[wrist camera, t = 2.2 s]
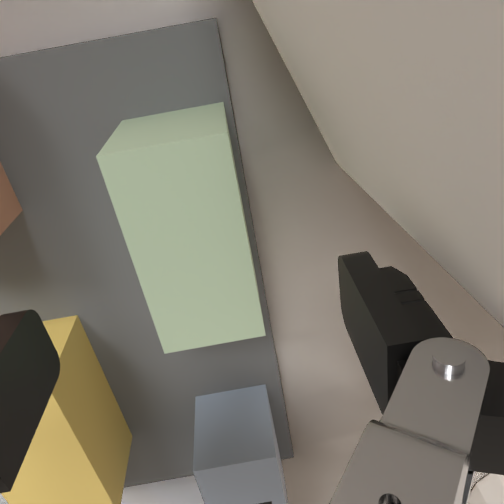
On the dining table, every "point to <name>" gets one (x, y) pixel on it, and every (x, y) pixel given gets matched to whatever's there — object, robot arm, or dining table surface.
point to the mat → (117, 229)
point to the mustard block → (75, 431)
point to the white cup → (488, 490)
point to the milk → (412, 116)
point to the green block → (185, 225)
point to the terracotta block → (7, 202)
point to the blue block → (237, 448)
